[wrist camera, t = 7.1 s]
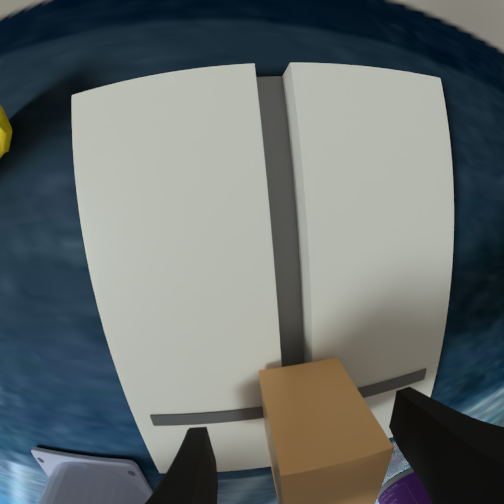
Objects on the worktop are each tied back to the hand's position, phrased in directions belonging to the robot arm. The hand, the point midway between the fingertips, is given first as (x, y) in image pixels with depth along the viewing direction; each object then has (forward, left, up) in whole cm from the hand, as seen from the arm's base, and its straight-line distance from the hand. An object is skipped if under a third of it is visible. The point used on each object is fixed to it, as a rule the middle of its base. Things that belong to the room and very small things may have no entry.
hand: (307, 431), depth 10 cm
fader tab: (0, 0, -4) cm, 4 cm away
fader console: (+4, 0, -4) cm, 6 cm away
